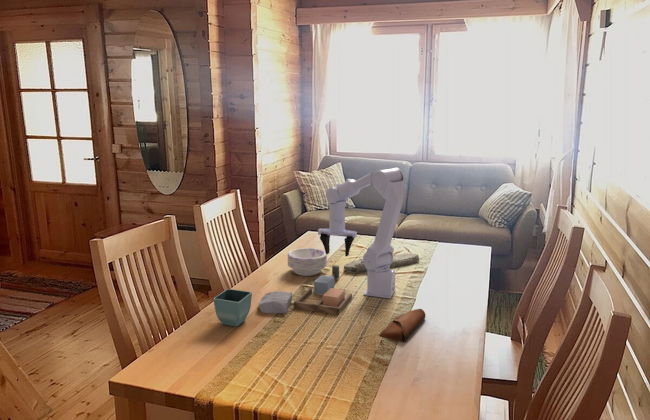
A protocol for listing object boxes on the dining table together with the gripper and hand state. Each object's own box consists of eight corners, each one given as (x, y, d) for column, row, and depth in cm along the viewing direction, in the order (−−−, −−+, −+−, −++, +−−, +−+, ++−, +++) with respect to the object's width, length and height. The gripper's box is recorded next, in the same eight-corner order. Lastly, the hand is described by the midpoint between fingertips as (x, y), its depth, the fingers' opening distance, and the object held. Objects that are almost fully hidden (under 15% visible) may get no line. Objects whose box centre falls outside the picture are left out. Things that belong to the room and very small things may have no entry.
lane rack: (352, 298, 176) (352, 292, 175) (338, 314, 163) (338, 308, 162) (309, 293, 181) (309, 287, 180) (293, 308, 168) (293, 301, 168)
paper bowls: (331, 267, 207) (331, 248, 205) (319, 280, 193) (319, 260, 191) (296, 264, 212) (295, 245, 210) (281, 276, 197) (281, 256, 196)
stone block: (258, 318, 165) (289, 313, 164) (255, 304, 164) (286, 299, 163) (266, 305, 177) (294, 300, 175) (263, 292, 176) (291, 287, 175)
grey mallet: (343, 279, 194) (343, 265, 193) (327, 295, 179) (327, 281, 178) (330, 277, 196) (330, 264, 195) (314, 293, 180) (314, 279, 179)
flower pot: (253, 318, 160) (252, 291, 158) (240, 330, 152) (238, 302, 150) (228, 315, 163) (227, 288, 161) (214, 326, 155) (212, 298, 153)
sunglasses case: (399, 313, 164) (410, 298, 161) (417, 327, 161) (428, 312, 159) (377, 336, 148) (388, 320, 145) (396, 352, 146) (409, 336, 143)
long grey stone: (425, 266, 213) (410, 261, 221) (425, 254, 212) (410, 249, 221) (351, 276, 197) (338, 269, 205) (352, 262, 196) (339, 256, 205)
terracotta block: (344, 302, 173) (344, 289, 172) (337, 310, 167) (337, 297, 166) (330, 300, 175) (330, 287, 174) (322, 308, 168) (322, 295, 167)
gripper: (314, 220, 189) (315, 255, 192) (352, 223, 184) (352, 259, 187) (321, 215, 195) (321, 250, 198) (358, 218, 190) (358, 254, 193)
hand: (337, 254), depth 193 cm, fingers open, 7 cm apart
